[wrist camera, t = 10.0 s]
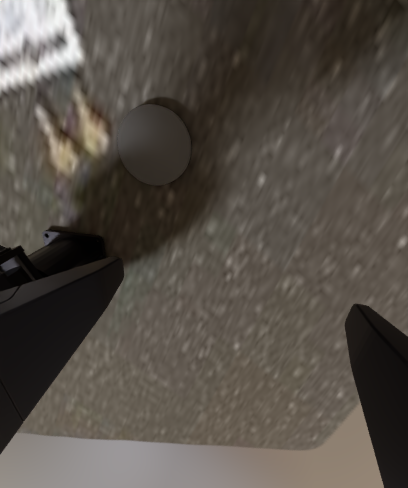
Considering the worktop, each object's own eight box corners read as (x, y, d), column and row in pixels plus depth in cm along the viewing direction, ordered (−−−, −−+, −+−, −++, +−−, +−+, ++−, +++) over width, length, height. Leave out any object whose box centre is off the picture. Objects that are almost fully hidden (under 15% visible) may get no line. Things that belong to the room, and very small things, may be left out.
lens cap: (125, 180, 21) (120, 182, 21) (118, 103, 19) (113, 102, 18) (190, 186, 21) (188, 188, 20) (193, 107, 18) (191, 106, 17)
